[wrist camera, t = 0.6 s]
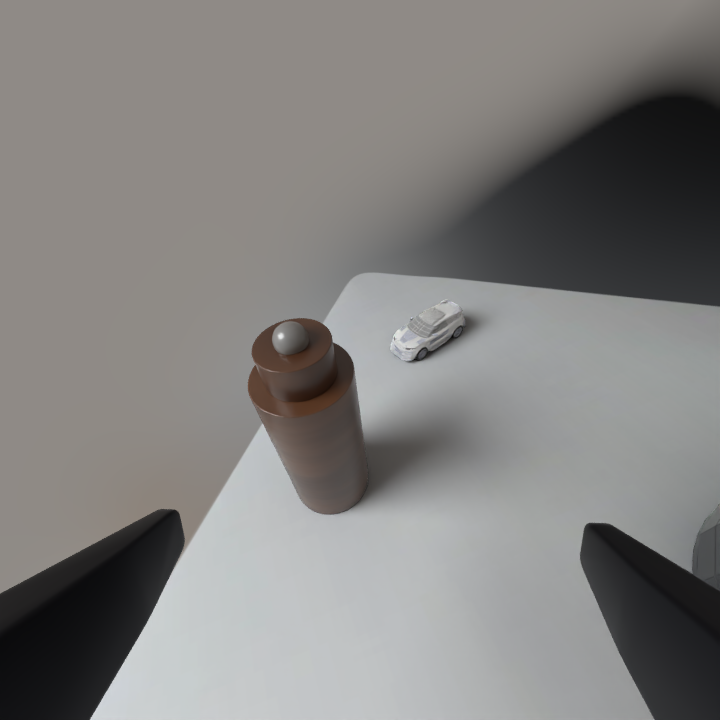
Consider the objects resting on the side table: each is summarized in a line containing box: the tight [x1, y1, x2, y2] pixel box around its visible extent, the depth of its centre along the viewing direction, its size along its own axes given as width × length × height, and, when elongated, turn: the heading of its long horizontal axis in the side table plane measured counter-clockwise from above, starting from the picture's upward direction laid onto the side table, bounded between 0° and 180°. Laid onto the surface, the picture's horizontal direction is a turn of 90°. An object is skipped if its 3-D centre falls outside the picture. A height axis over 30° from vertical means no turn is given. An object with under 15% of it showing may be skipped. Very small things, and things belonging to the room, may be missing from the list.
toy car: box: [390, 300, 465, 361], centre depth 33 cm, size 4×8×3 cm, turn 126°
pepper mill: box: [248, 318, 368, 514], centre depth 19 cm, size 5×5×14 cm
